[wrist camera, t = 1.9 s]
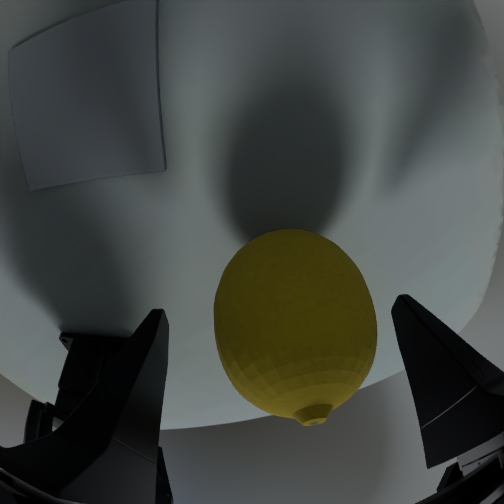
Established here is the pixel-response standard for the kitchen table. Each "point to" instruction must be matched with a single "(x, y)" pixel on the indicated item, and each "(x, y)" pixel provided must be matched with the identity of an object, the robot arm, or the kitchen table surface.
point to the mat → (89, 97)
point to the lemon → (294, 325)
